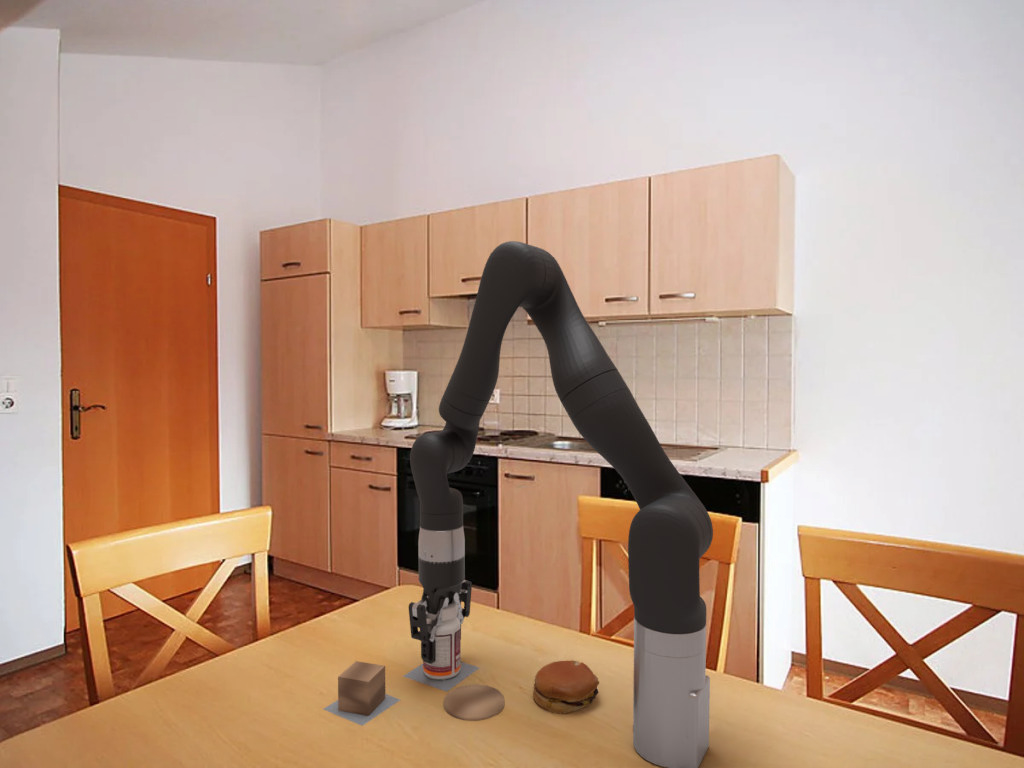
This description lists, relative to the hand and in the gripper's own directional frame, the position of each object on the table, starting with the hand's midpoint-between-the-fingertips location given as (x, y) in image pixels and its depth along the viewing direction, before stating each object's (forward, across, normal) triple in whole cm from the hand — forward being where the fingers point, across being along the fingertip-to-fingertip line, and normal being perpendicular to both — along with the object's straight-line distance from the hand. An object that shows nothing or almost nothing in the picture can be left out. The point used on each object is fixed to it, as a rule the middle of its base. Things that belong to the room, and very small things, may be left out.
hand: (441, 653), depth 104 cm
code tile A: (+3, 0, 0) cm, 3 cm away
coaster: (+3, -5, -10) cm, 12 cm away
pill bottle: (+3, 0, 0) cm, 3 cm away
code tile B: (+3, -14, +4) cm, 15 cm away
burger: (+4, +4, -21) cm, 21 cm away
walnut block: (+3, -14, +4) cm, 15 cm away
